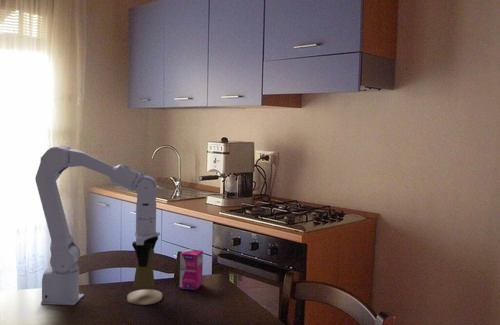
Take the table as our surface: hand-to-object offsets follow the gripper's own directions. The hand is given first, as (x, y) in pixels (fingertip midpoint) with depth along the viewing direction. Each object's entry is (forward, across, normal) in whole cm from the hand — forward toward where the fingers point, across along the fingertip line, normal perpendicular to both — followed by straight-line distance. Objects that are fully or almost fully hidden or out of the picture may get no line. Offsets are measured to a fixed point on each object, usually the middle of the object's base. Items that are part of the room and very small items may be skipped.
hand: (145, 263), depth 137 cm
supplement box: (+11, +12, -12) cm, 20 cm away
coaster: (+10, 0, 0) cm, 10 cm away
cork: (+6, 0, 0) cm, 6 cm away
